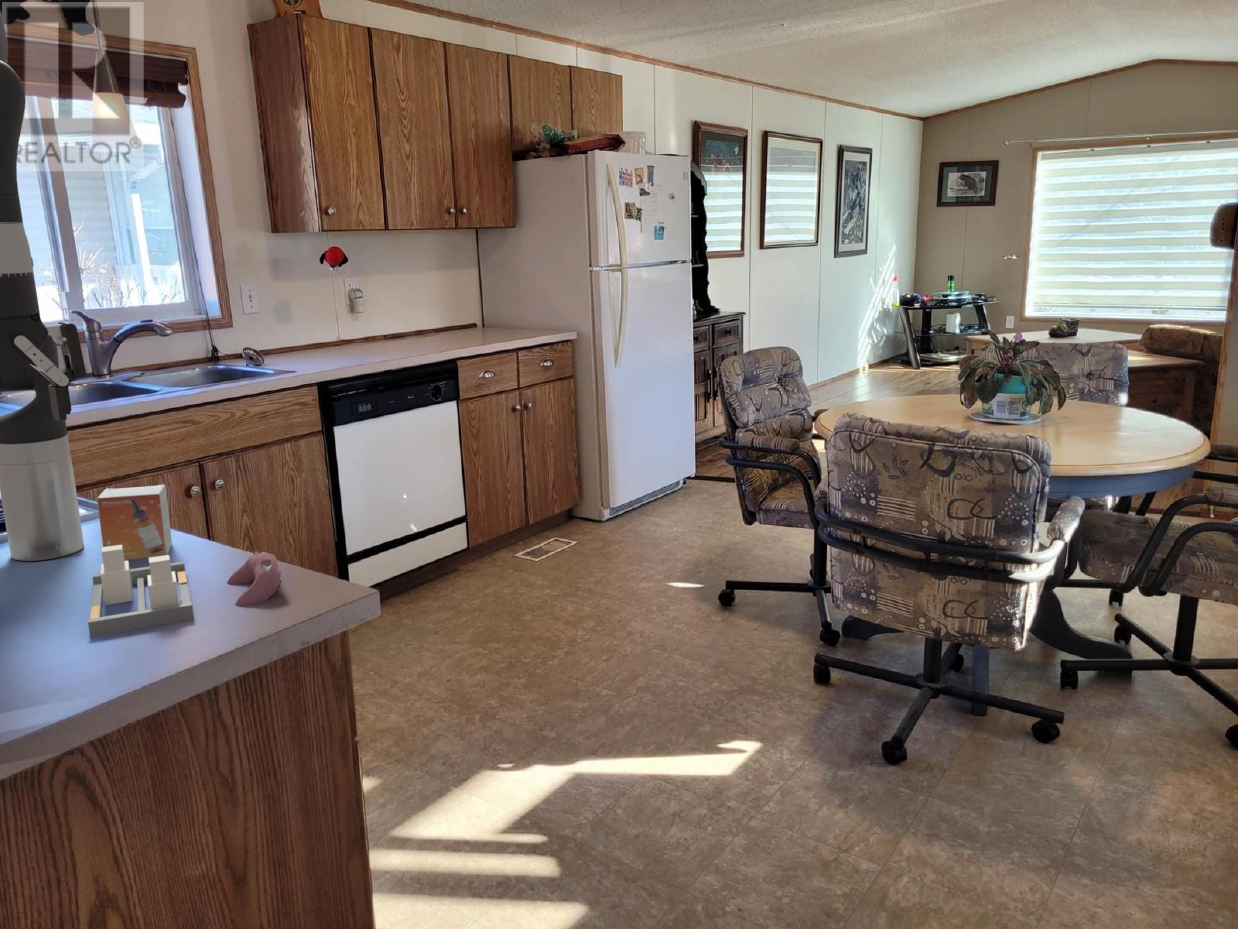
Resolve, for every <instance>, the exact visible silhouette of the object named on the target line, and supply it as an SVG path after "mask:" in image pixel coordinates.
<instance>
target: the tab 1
mask: <svg viewBox="0 0 1238 929" xmlns="http://www.w3.org/2000/svg"><path fill="white" fill-rule="evenodd" d="M101 557H102V564H101V565H100V574H101V581H102V588H103V602H104V606H109V605H116V604H120V603H128V602H133V601H134V600H133V599H134V598H133V597H134V596H133V594H134V593H133V591H134V590H133V584H132V583H131V576H130V569H131V568H130V563H129V560H124V554H123V546H122V545H115V546H108V547H103V546H102V547H101Z"/></svg>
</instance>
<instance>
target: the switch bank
mask: <svg viewBox="0 0 1238 929" xmlns="http://www.w3.org/2000/svg"><path fill="white" fill-rule="evenodd" d="M170 564H171V572H173V571H175V575H176V579H177V582H178V589H179V595H180V602H181V603H179V604H178V605H172V606H165V607H159V608H153V609H151V608H148V609H147V608H146V594H145V593H146V591H145V583H148V577H147V575H151V573H150V566H143V567H136V568H130V576H131V583H132V585H137V610H136V611H130V612H122V613H118V614H113V615H106V616H102V615H103V602H104V595H103V588H102V581H101V573H96V574H92V582H93V584H92V594H91V604H90V605H91V606H90V613H89V614H90V615H89V616H90V617H89V619H88V620H87V624H88V632H89V636H90V637H97V636H103V635H108V634H109V635H110V634H114V633H115V634H116V633H121V632H126V631H131V630H132V631H133V630H139V629H144V628H149V627H150V628H151V627H154V626H162V625H167V624H172V623H179V622H184V621H189V620H194V619H195V617H194V610H193V603H192V602H193V601H192V599H191V595H190V588H189V583H188V578H187V573H186V566H185V561H178V562H170Z"/></svg>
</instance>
